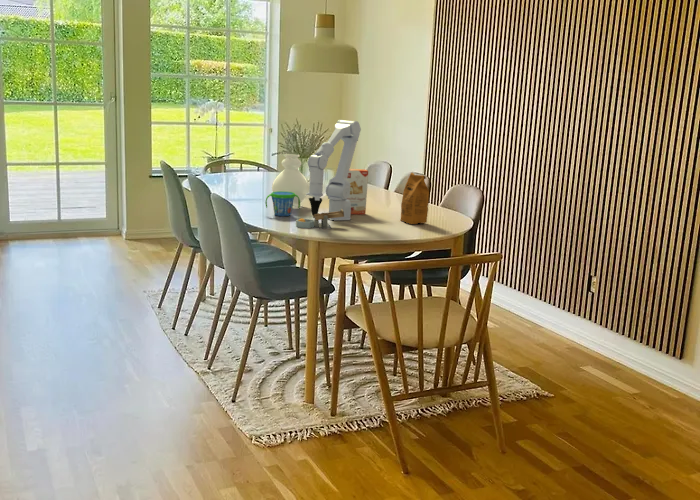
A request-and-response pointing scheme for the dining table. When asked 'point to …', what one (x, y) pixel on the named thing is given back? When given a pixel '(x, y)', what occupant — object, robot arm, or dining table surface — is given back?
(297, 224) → the grey octagonal bowl
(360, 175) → the cracker box
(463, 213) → the dining table surface
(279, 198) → the snack cup
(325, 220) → the fulcrum
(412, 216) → the coffee package
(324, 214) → the lever
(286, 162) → the decorative vase
